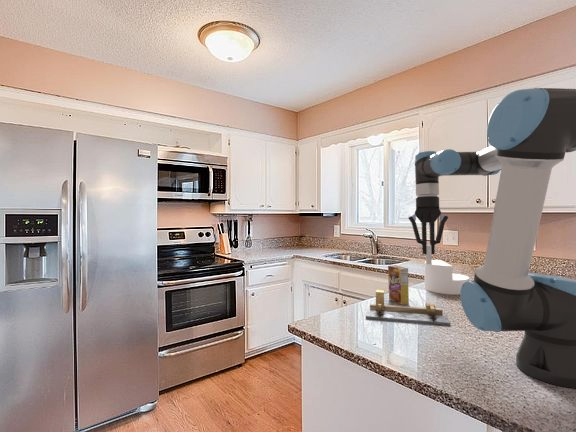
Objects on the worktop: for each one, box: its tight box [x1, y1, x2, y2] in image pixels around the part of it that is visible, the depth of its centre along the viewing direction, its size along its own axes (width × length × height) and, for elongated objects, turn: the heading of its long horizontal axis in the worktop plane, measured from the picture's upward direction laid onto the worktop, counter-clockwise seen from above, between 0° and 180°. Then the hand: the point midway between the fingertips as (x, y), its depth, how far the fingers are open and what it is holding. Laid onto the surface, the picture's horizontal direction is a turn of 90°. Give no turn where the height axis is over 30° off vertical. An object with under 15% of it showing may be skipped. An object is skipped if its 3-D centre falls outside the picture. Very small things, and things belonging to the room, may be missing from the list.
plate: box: [365, 309, 451, 327], centre depth 119 cm, size 8×28×1 cm, turn 73°
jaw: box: [375, 289, 385, 313], centre depth 125 cm, size 9×3×8 cm, turn 163°
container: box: [423, 259, 470, 295], centre depth 163 cm, size 20×20×13 cm
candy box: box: [387, 264, 410, 306], centre depth 141 cm, size 9×4×15 cm, turn 17°
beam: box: [369, 302, 444, 317], centre depth 122 cm, size 9×26×4 cm, turn 73°
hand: (428, 263), depth 114 cm, fingers closed
